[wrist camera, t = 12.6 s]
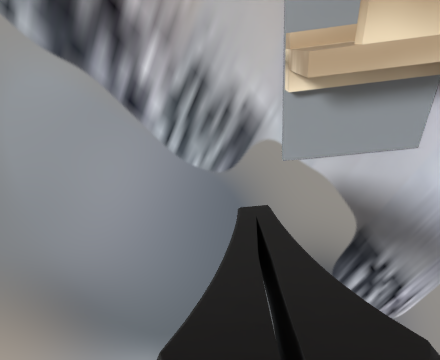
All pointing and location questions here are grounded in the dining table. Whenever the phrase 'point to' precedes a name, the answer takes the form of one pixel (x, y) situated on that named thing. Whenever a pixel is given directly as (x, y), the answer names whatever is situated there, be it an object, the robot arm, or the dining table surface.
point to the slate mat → (349, 99)
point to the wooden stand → (367, 47)
